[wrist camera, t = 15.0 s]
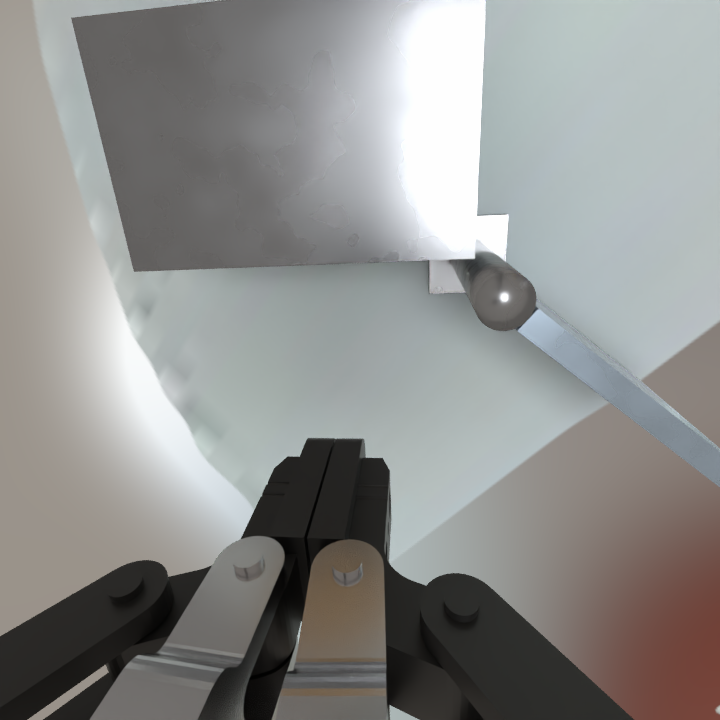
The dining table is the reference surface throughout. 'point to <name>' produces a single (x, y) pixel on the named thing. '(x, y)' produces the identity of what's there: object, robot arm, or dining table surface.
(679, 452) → the dough scraper
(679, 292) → the dining table surface
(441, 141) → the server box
